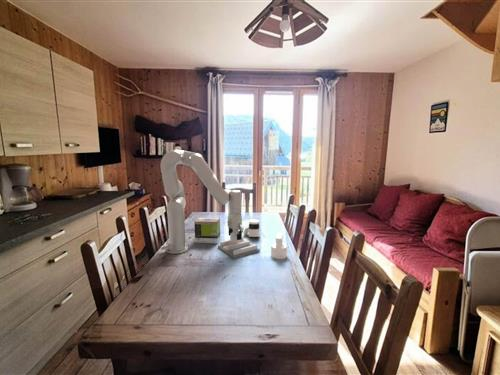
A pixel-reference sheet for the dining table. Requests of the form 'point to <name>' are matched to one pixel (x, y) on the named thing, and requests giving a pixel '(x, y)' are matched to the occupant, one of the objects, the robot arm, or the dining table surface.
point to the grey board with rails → (238, 248)
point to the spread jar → (253, 229)
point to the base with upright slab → (279, 248)
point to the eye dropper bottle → (234, 238)
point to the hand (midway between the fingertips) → (235, 237)
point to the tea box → (207, 230)
